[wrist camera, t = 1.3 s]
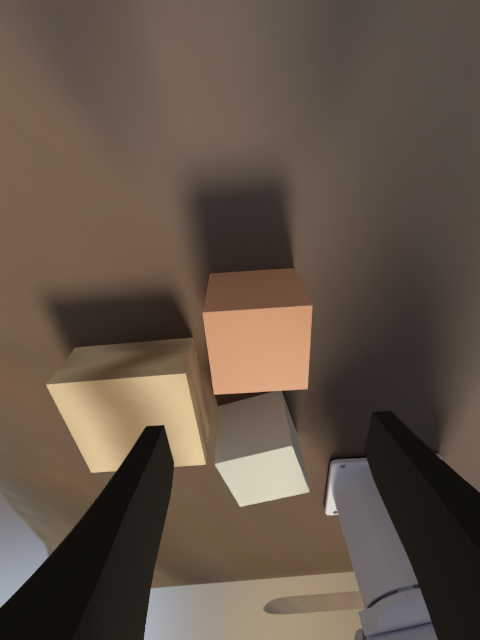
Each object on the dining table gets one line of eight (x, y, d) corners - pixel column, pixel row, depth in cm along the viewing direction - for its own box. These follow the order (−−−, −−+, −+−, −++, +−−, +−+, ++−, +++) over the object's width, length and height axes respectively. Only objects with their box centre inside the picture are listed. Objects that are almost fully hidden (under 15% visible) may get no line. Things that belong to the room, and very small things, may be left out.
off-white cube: (281, 388, 23) (292, 445, 19) (296, 432, 25) (309, 491, 21) (218, 405, 24) (214, 464, 19) (239, 446, 26) (240, 506, 22)
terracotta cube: (293, 267, 18) (312, 305, 14) (292, 338, 21) (307, 389, 16) (209, 273, 18) (202, 312, 14) (218, 342, 21) (214, 394, 16)
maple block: (193, 335, 21) (185, 373, 17) (209, 419, 25) (205, 464, 21) (77, 344, 21) (45, 384, 17) (111, 426, 25) (91, 472, 21)
